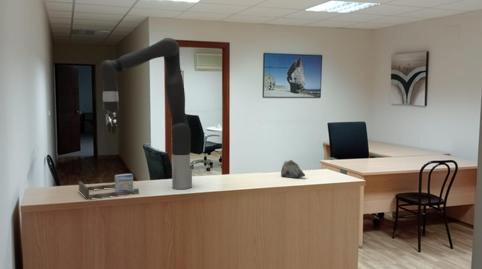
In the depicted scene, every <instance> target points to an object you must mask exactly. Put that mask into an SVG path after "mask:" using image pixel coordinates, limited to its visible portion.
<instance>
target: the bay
mask: <svg viewBox="0 0 482 269" xmlns="http://www.w3.org/2000/svg"><path fill="white" fill-rule="evenodd" d="M104 188H113V189H115V183H113V184H112V183H110V184H103V185H94V186H93V185H92V186H86V185H85V184H84V183H83V182H82V181H78V192H79V191H80V192H81V193H82V194H83V195H84V196H85V197H84V196H83V195H82V194H81V193H80V192H79V193H80V194H81V195H82V196H83V197H84V198H85V199H86V200H87V199H90V200H93V199H92V198H99V199H103V198H102V197H107V198H111V197H110V196H116V197H119V196H118V195H124V196H130V195H129V194H133V195H139V194H140V189H139V188H133V190H127V191H118V192H115V191H112V192H109V191H108V192H102V193H95V194H93V193H92V194H90V191H89V190H94V189H104ZM104 190H105V189H104Z"/></svg>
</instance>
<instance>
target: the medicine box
mask: <svg viewBox="0 0 482 269" xmlns="http://www.w3.org/2000/svg"><path fill="white" fill-rule="evenodd" d="M114 184H115V188H114V192H118V191H127V190H134V175H133V174H132V173H121V174H115V175H114Z"/></svg>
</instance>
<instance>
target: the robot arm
mask: <svg viewBox="0 0 482 269" xmlns="http://www.w3.org/2000/svg"><path fill="white" fill-rule="evenodd" d="M180 52H181V51H180V45H179V43H178V42H177V40H176V39H174V38H172V37H165V38H163V39H160V40H159V41H157V42H155V43H154V44H152V45H149V46H147V47H144V48H141V49H138V50H136V51H133V52H129V53H126V54H123V55H121V56H120V57H119V58H117V59H113V60H111V59H106V60H103V61H102V62H101V65H100V74H101V79H102V90H103V92H102V109H103V111H105V114H104V115H105V124H106V131H107V133H111V134H117V126H118V112H116V111H119V109H120V108H119V107H120V104H119V103H120V102H119V101H120V100H119V91H118V90H119V86H118V82H117V80H116V74H117V75H118V74H119V73H121V72H124V71H125V70H129V69H131V68H136V67H138V66H141V65H143V64H145V63H147V62H148V61H151V60H154V59H158V58H163V59H164V63H165V64H164V65H165V78H164V85H165V94H166V99H167V104H168V108H169V111H170V118H171V119H170V121H171V122H170V123H171V129H170V130H171V132H170V133H171V175H172V176H171V178H172V180H171V181H172V182H171V186H172V189H173V190H174V189H175V190H186V189H190V188H193V169H192V168H191V128H190V127H189V125H188V120H187V116H186V92H185V86H184V79H183V78H184V77H183V75H182V70H181V61H180V60H181V59H180V55H181V54H180Z"/></svg>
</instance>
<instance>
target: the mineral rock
mask: <svg viewBox="0 0 482 269" xmlns="http://www.w3.org/2000/svg"><path fill="white" fill-rule="evenodd" d="M280 176H281V177H282V178H283V177H284V178H294V179H296V178H303V177H304V178H305V176H306V174H305V173H304V172H303V170H302V169H301V168H300V166H299V165H298V163H296V162H295V161H293V160H292V159H290V160H288V161H287V160H286V161H284V162H283V164H282V166H281V171H280Z"/></svg>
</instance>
